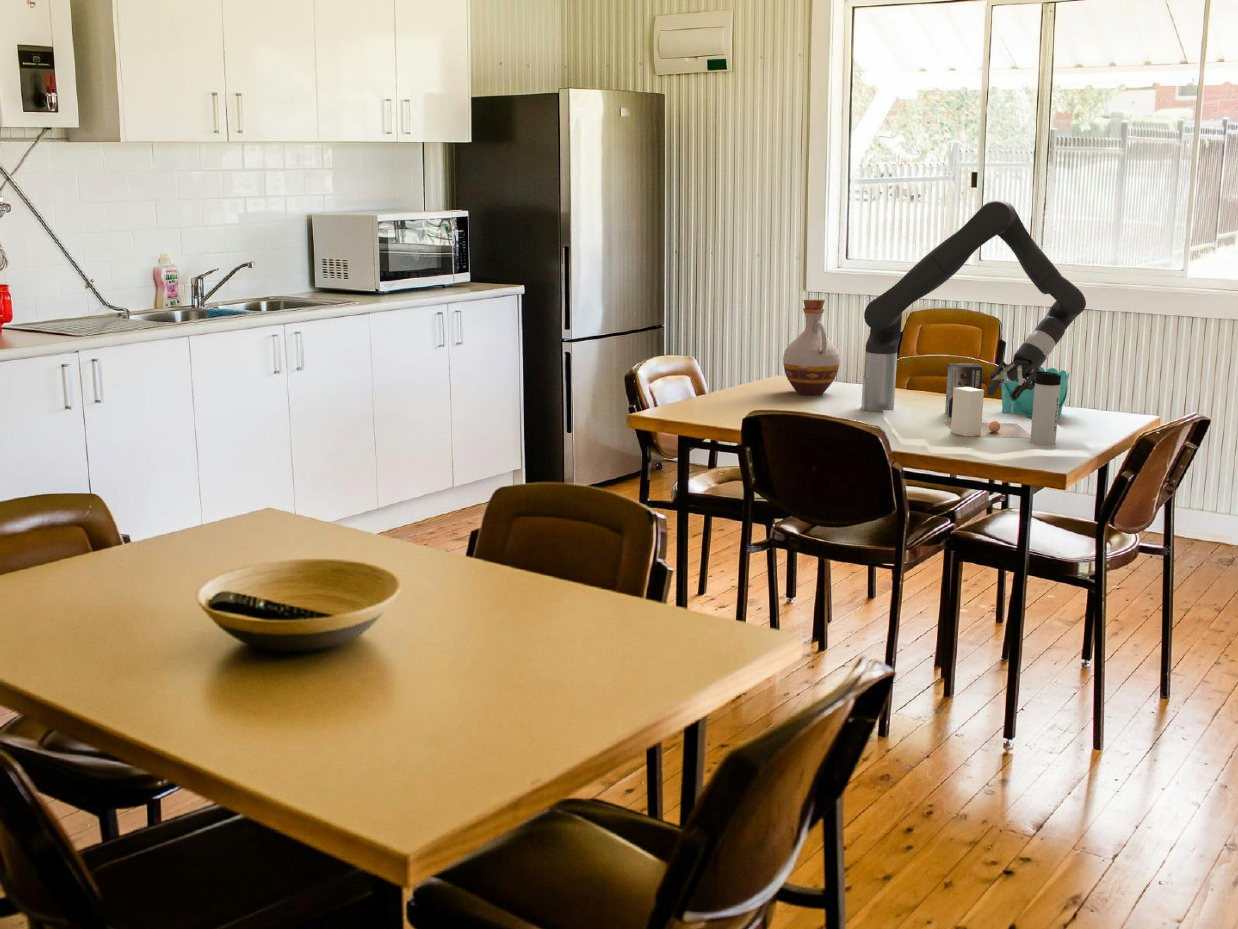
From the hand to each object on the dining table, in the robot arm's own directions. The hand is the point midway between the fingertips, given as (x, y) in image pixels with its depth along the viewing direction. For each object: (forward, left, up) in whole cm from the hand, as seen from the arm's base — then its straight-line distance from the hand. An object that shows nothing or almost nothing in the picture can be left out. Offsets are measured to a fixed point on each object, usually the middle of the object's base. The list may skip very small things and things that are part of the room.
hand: (1000, 396), depth 349 cm
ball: (-2, -3, -9) cm, 10 cm away
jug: (-46, +60, -11) cm, 76 cm away
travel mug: (+8, -14, -11) cm, 20 cm away
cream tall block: (-10, -6, -9) cm, 15 cm away
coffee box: (-6, +21, -11) cm, 24 cm away
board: (-3, 0, -11) cm, 11 cm away
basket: (+17, +35, -11) cm, 40 cm away
